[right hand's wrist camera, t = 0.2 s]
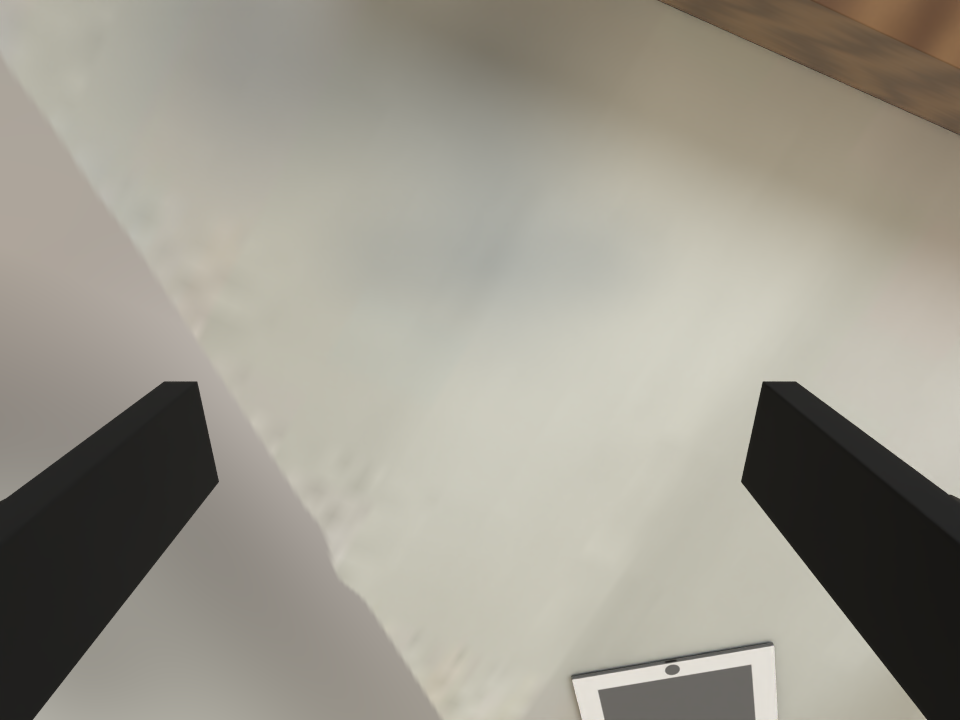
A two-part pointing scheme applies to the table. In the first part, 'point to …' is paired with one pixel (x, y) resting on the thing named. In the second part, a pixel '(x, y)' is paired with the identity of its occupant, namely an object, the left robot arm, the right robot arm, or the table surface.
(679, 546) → the table surface
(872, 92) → the beam
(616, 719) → the tablet
